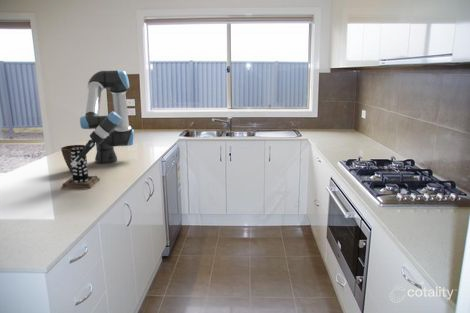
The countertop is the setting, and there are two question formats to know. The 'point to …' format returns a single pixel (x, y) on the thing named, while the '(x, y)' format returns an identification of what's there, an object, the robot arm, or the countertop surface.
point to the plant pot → (68, 154)
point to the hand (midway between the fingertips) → (73, 162)
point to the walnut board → (82, 185)
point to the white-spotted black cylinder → (79, 166)
